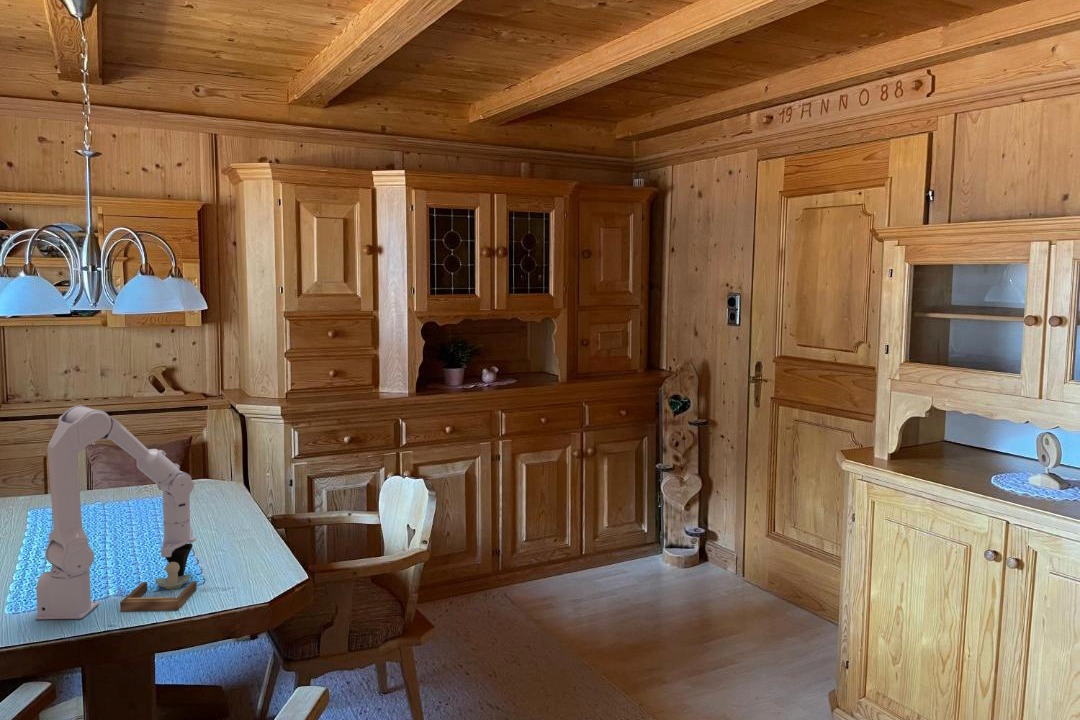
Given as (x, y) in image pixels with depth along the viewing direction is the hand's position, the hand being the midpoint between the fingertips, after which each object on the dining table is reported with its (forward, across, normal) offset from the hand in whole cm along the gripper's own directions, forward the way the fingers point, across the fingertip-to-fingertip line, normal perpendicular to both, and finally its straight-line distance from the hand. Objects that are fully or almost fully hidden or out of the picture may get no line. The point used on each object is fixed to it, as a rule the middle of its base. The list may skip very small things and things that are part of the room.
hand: (178, 576), depth 187 cm
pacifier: (+1, -3, 0) cm, 3 cm away
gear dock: (+1, -11, 0) cm, 11 cm away
